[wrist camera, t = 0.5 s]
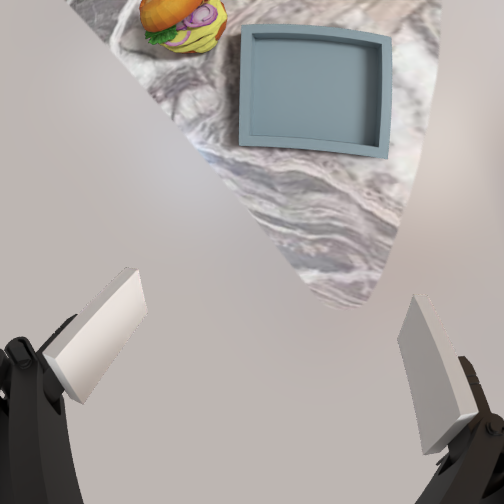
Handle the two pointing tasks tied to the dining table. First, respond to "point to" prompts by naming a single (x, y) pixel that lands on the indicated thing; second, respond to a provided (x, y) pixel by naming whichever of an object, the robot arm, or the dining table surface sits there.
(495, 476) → the robot arm
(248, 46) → the bin
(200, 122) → the dining table surface
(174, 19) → the cheeseburger
